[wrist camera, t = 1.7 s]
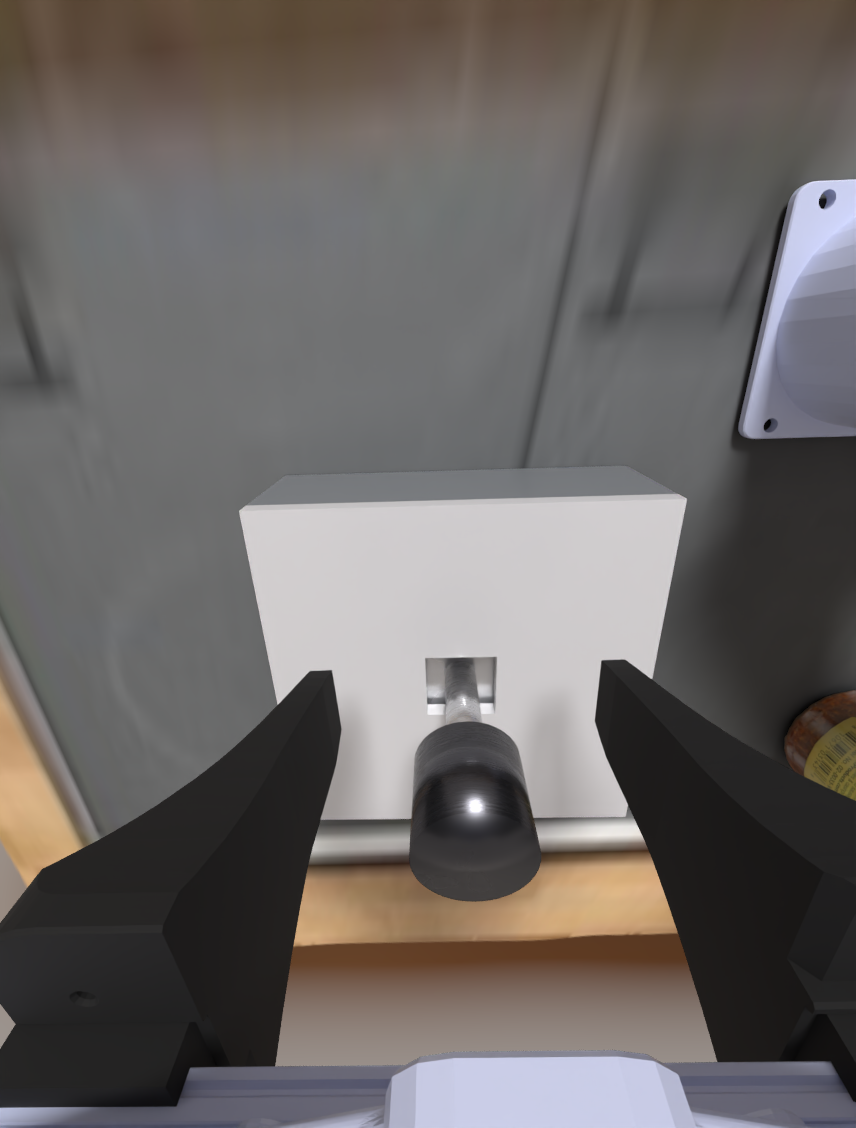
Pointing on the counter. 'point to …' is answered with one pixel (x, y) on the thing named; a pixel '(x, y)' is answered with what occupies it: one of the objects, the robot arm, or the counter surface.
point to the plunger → (470, 793)
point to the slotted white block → (464, 612)
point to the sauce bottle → (826, 743)
